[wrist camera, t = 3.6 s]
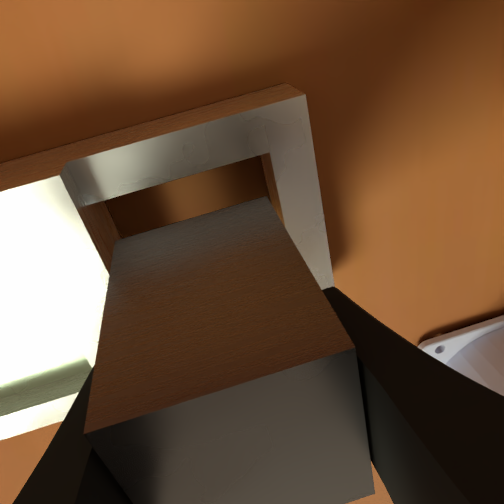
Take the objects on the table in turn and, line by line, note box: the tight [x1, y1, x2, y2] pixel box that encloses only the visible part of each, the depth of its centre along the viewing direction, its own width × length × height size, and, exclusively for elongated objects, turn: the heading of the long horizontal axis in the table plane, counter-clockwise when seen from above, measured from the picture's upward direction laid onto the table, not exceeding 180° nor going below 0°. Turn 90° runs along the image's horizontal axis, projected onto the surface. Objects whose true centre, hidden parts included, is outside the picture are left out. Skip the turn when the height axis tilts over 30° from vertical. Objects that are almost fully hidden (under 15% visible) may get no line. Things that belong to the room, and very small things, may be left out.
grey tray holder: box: [0, 83, 335, 440], centre depth 14 cm, size 16×8×3 cm, turn 103°
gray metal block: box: [83, 196, 375, 504], centre depth 10 cm, size 4×4×6 cm
